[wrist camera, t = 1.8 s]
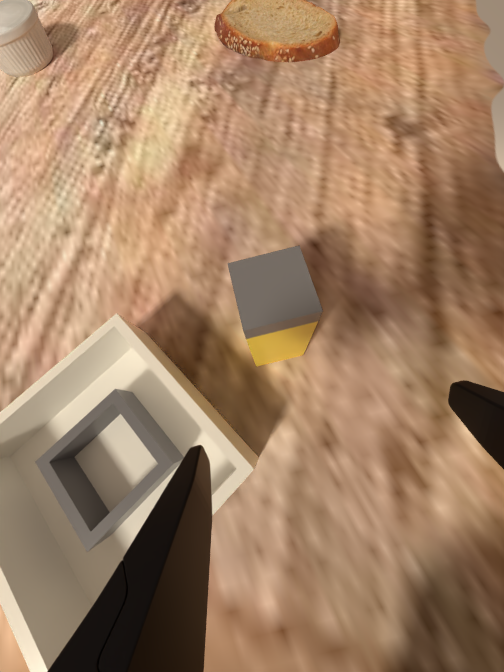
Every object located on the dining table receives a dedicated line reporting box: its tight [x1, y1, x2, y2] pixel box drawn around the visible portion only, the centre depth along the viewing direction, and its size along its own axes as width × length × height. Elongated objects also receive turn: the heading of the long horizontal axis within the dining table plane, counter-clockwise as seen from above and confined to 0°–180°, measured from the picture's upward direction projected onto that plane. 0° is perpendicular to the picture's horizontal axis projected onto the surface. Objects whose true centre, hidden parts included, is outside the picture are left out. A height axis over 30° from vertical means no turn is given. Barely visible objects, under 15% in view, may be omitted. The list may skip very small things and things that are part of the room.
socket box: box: [0, 313, 259, 672], centre depth 19 cm, size 16×16×5 cm
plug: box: [228, 246, 323, 367], centre depth 19 cm, size 4×4×10 cm
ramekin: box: [0, 0, 53, 77], centre depth 41 cm, size 11×11×5 cm
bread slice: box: [215, 0, 340, 62], centre depth 39 cm, size 18×18×4 cm
